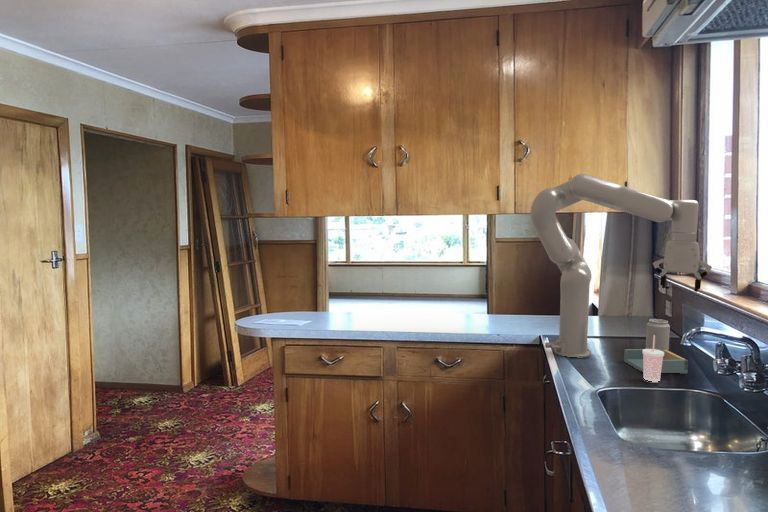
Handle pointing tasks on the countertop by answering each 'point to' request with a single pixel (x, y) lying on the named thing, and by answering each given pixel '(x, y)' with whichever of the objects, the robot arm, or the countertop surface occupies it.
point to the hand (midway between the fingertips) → (679, 289)
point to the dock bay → (669, 363)
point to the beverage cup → (652, 363)
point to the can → (657, 334)
